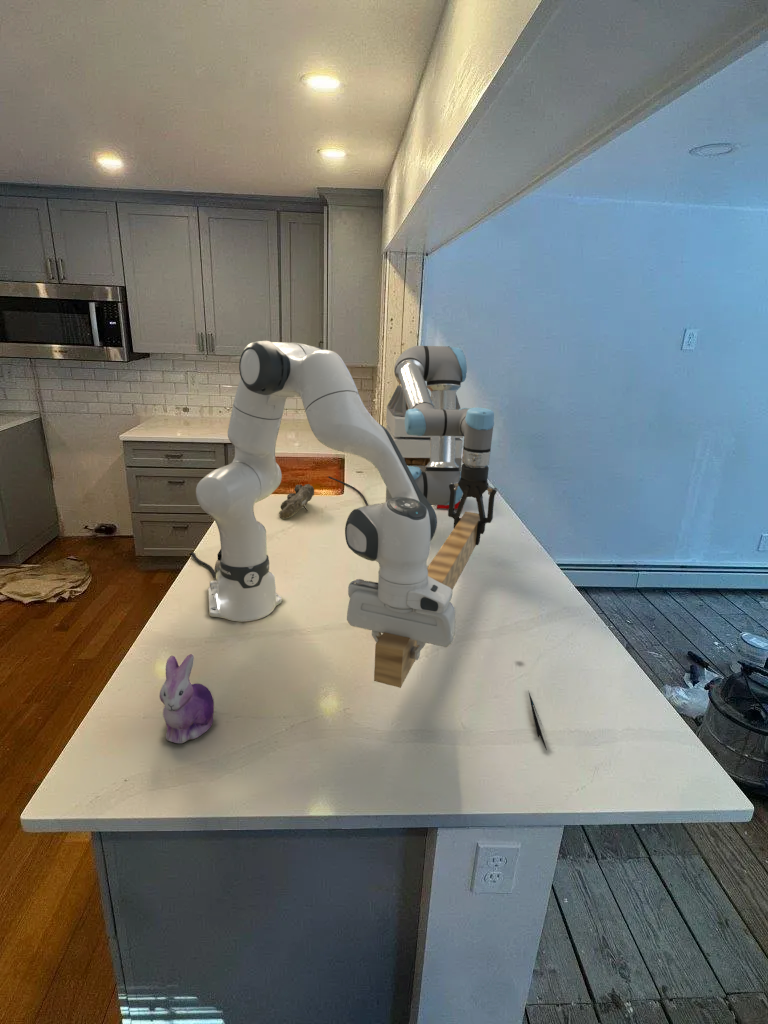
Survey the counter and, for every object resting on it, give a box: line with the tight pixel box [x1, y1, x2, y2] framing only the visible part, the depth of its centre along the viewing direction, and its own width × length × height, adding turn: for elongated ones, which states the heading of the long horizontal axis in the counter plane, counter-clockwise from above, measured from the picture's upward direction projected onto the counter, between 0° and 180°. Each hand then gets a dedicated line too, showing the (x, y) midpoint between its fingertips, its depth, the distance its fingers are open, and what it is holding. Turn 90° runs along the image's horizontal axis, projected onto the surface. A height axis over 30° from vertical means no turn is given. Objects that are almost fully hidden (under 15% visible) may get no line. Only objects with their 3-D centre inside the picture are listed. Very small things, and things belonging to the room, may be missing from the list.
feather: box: [528, 689, 548, 751], centre depth 116 cm, size 2×28×2 cm
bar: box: [373, 511, 480, 688], centre depth 135 cm, size 78×5×8 cm, turn 161°
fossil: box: [278, 483, 315, 519], centre depth 216 cm, size 22×10×15 cm
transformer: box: [385, 384, 464, 471], centre depth 268 cm, size 34×33×41 cm
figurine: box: [159, 653, 215, 744], centre depth 102 cm, size 9×10×15 cm
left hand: (398, 653), depth 106 cm, fingers closed on bar, 5 cm apart
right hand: (467, 541), depth 166 cm, fingers closed on bar, 5 cm apart
